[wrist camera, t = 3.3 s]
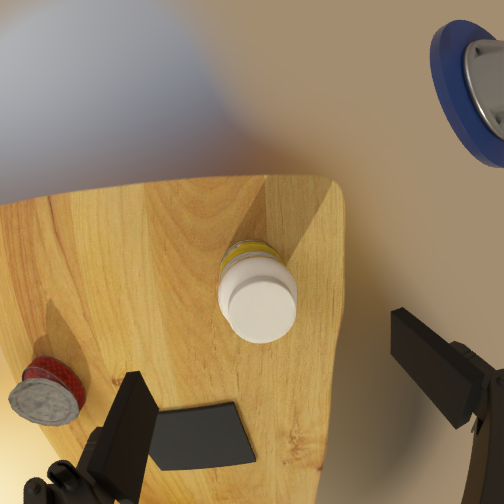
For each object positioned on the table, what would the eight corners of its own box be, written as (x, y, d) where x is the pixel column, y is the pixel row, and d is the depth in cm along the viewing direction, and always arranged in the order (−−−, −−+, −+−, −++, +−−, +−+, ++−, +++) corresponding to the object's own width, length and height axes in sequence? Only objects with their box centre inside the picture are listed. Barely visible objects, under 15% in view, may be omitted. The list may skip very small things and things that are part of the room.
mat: (233, 401, 34) (233, 404, 34) (256, 459, 38) (256, 462, 37) (123, 413, 34) (122, 416, 33) (161, 468, 37) (161, 470, 37)
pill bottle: (274, 300, 31) (295, 357, 21) (216, 291, 31) (210, 347, 20) (286, 243, 30) (317, 277, 19) (225, 233, 29) (223, 263, 19)
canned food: (60, 339, 36) (45, 353, 27) (100, 393, 37) (96, 419, 28) (13, 373, 31) (-9, 393, 22) (52, 424, 32) (40, 453, 23)
